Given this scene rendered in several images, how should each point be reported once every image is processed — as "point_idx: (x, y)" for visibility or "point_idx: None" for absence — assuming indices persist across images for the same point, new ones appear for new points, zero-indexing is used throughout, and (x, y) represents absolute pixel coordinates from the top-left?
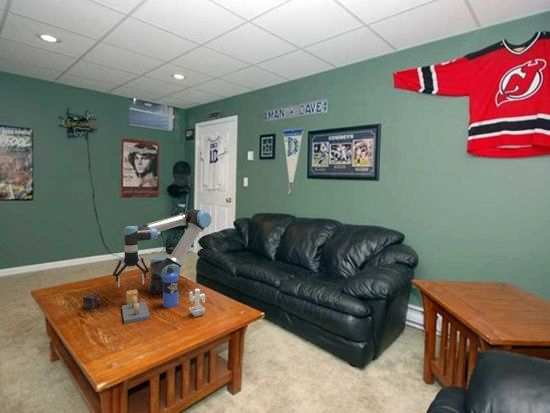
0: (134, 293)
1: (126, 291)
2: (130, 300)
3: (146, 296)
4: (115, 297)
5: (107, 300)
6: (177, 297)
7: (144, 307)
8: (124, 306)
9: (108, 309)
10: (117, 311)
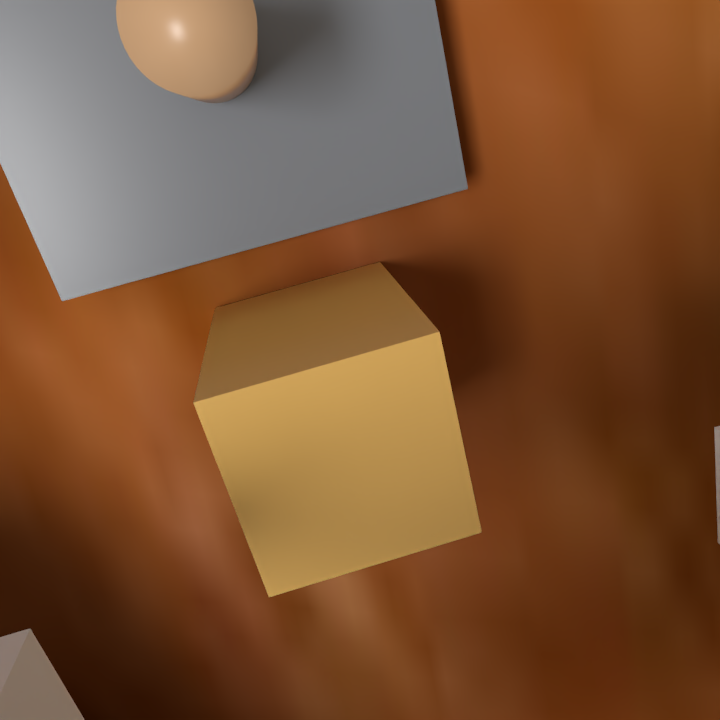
0: (271, 374)
1: (475, 511)
2: (343, 303)
3: (165, 625)
4: (590, 621)
5: (678, 537)
6: None
7: None
8: (416, 126)
9: (648, 201)
10: (507, 74)
